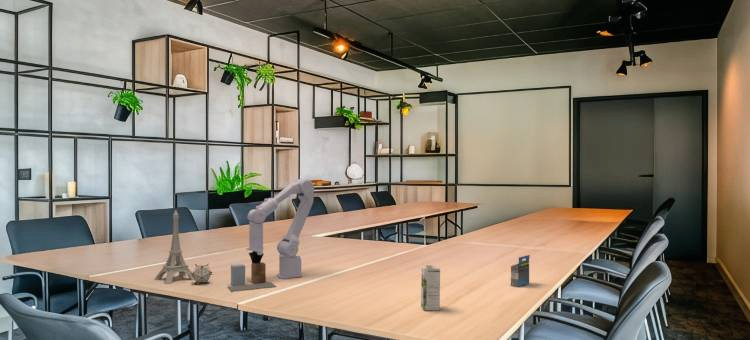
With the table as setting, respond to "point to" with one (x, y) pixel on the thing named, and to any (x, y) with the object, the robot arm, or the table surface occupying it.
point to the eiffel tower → (174, 258)
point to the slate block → (237, 274)
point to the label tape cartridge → (520, 272)
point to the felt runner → (251, 286)
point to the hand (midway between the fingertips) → (256, 269)
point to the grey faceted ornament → (201, 273)
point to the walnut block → (258, 273)
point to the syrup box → (430, 288)
